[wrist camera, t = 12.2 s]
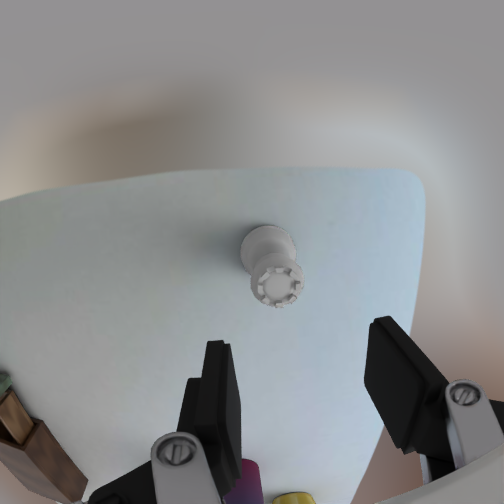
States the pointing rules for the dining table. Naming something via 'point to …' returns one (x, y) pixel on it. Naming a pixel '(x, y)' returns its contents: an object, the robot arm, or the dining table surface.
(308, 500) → the flower pot
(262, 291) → the rook chess piece
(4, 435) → the drawer
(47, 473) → the cabinet
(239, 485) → the cup
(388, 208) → the dining table surface
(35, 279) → the dining table surface
